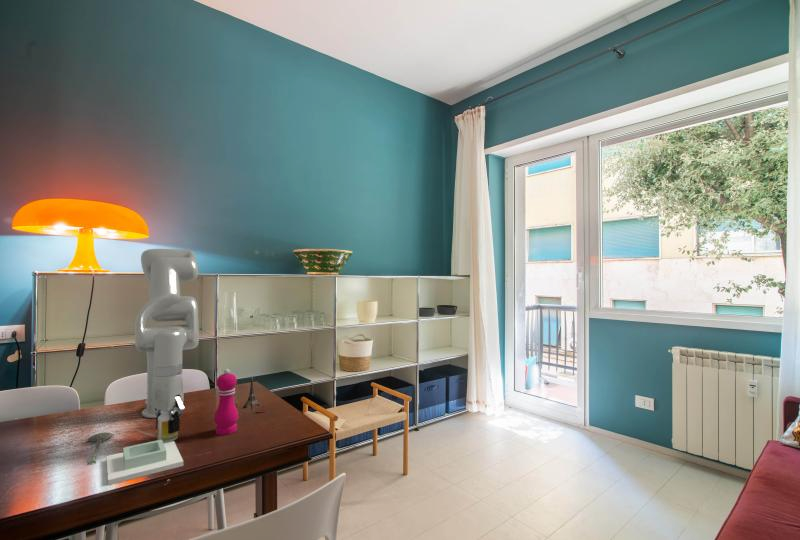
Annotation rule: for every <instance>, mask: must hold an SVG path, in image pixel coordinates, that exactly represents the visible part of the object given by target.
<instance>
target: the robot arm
mask: <svg viewBox="0 0 800 540" xmlns="http://www.w3.org/2000/svg"><path fill="white" fill-rule="evenodd" d="M140 256H141V257H140V262H141V263H140V264H141V268H142V271H143V274H144V276H145V278H146V281H147V283H148V288H149V289H148V292H149V294H148V295H149V297H148V299H149V300H148V301H147V302H146V303H145V304H144V305H143V306H142V308H141V309H140V310H139V312H138V313H137V315H136V318H135V321H134V322H135V323H134V346H135V348H136V350H137V351H139V352H141V353H146V362H147V364H146V366H147V367H146V368H147V369H146V375H147V376H146V380H147V381H146V399H145V401H144V404H145V405H146V408H145V409H143V410H142V411H141V416H142V417H144V418H149V419H155V418H156V421H155V422H156V423H155V426H156V427H155V428H156V429H155V430H157V431H158V417H159V416H160V415H161V413H160V410H163V411H168V412H169V418H170V420H168V433H169V434H171V433H174V432H177V431H178V432H179V431H180V428H181V427H180V423H181V419H180V418H181V417H182V414H183V413H184V411H185V410H186V409H185V406H184V399H185V398H184V397H185V396H184V394H185V392H184V380H183V351H187V350H193V349H195V348H197V347H198V345H199V343H200V342H199V341H200V340H199V339H200V326H199V307H198V306H199V305H198V303H197V300H196V298H195V297H193V296H189V295H183V296H182V295H181V290H180V289H181V287H180V282H192V281H195V280H197V279H198V275H199V266H198V260H197V258H196V255H195V253H194V252H193V251H192V250H190V249H177V248H175V249H173V248H151V249H146V250H143V251H142V253H141V255H140ZM148 318H150V319H151V321H153V322H155V323H170V322H171V323H172V322H174V323H175V322H183V324H169V325H156V326H152V327H146V322H147V320H148ZM173 407H175V408H174V409H173ZM174 410H175V413H174V414H173V412H172V411H174Z"/></svg>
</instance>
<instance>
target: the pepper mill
mask: <svg viewBox="0 0 800 540" xmlns="http://www.w3.org/2000/svg"><path fill="white" fill-rule="evenodd" d="M230 371H231V370H230V369H228V368H225V369H224V370H223V374H221V375H219V376H218V377H217V379H216V382H215V383H216V387H217V388H218V390H217V393H218V395H219V402H218V406H217V408H216V411H215V413H214V417H213V421H214V423H215V425H216V426H215V434H216V435H219V436H226V435H230V434H233V433H235V432H237V430H238V424H237V421H238V420H239V414H238V411H237V408H236V403H235V401H234V400H235V399H234V394H235V393H236V391H235V390H236V388H235V387H236V385H237V383H238V382H237V381H238V379H237V377H236V375H234V373H230Z"/></svg>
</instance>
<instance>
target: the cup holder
mask: <svg viewBox="0 0 800 540" xmlns="http://www.w3.org/2000/svg"><path fill="white" fill-rule="evenodd" d="M180 467H184V458H183V457H182V455H181V453H180V451H179V448H178V447H177V444H176V442H175V440H174V441H171V442H165V443H163V441H162V440H158V439H156V440H153V441H149V442H143V443H138V444H134V445H130V446H125V447H123V449H122V452H120V453H115V454H110V455H107V456H106V472H107V474H108V475H107V485H108V486H110V485H109V484H111V485H114V483H115V484H119V483H121V482H125V481H129V480H133V479H137V478H141V477H145V476H149V475H153V474H157V473H160V472H161V473H162V472H164V471H168V470H172V469H176V468H180ZM118 482H119V483H118Z"/></svg>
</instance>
